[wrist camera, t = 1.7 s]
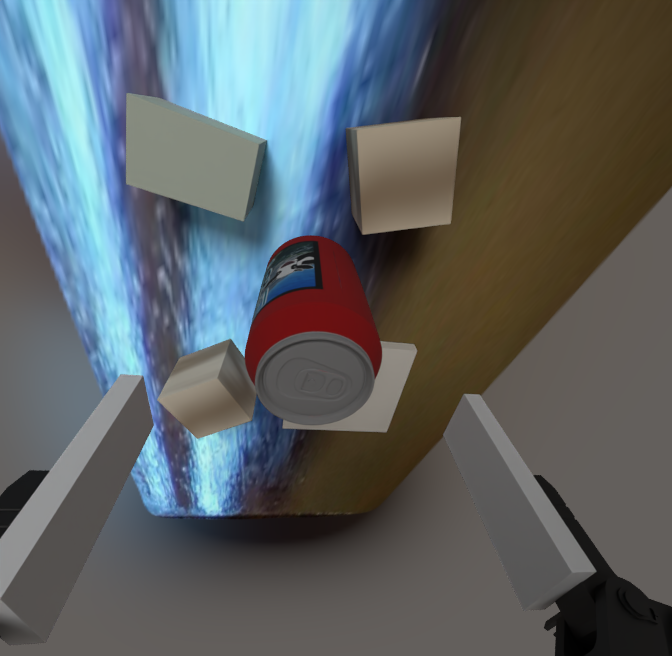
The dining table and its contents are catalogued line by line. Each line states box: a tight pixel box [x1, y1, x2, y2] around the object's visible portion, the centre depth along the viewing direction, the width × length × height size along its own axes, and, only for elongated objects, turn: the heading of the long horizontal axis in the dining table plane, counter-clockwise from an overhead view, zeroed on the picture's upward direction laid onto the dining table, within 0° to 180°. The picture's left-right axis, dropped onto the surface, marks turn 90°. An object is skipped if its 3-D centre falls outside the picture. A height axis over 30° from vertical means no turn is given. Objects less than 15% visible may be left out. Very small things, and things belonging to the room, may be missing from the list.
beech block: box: [346, 117, 461, 235], centre depth 18 cm, size 5×5×5 cm
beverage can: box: [245, 236, 382, 425], centre depth 19 cm, size 7×7×12 cm
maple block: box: [157, 339, 257, 439], centre depth 26 cm, size 5×5×5 cm
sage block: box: [126, 93, 267, 222], centre depth 18 cm, size 4×6×4 cm, turn 70°
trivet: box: [283, 341, 417, 432], centre depth 30 cm, size 11×11×1 cm
